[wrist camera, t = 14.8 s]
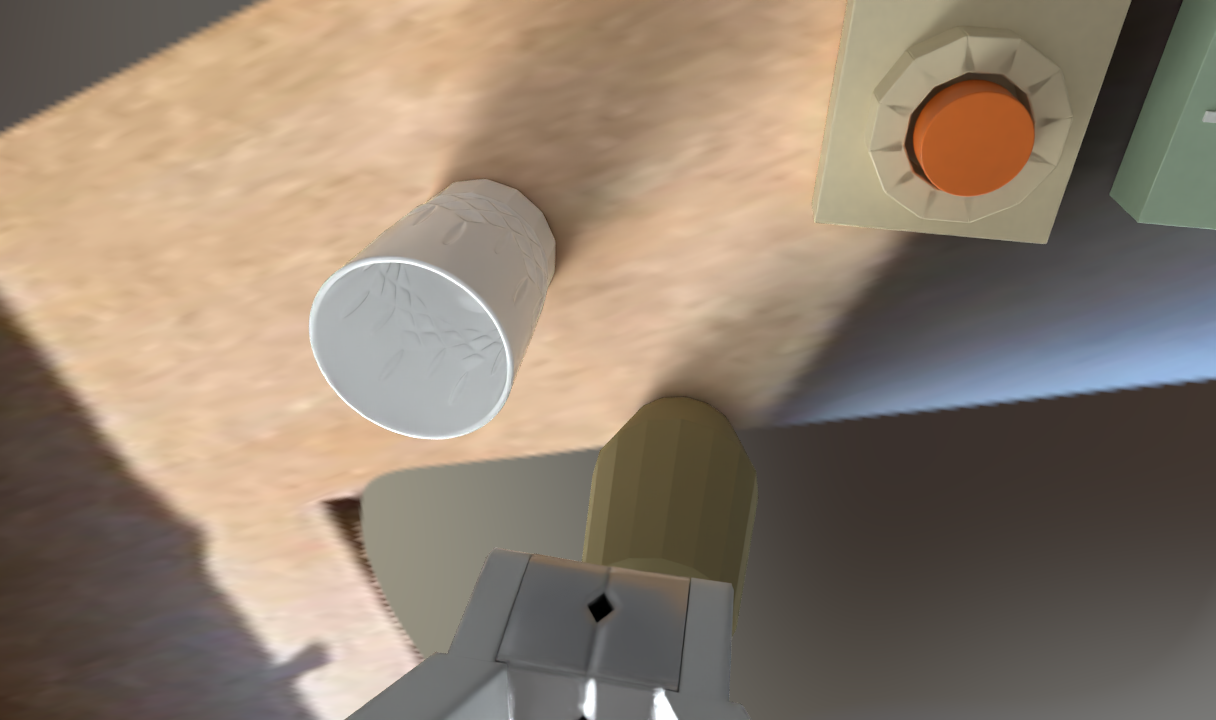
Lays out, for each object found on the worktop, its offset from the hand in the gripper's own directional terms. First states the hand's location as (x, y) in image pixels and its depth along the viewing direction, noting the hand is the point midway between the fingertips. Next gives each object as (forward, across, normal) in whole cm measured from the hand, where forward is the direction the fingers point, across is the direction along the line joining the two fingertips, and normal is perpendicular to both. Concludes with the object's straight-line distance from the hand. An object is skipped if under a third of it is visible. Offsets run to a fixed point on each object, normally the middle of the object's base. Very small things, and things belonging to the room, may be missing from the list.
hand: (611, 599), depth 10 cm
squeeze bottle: (+27, 0, +18) cm, 33 cm away
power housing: (+27, -9, -1) cm, 28 cm away
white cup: (+27, +10, +8) cm, 30 cm away
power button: (+23, -9, 0) cm, 25 cm away
